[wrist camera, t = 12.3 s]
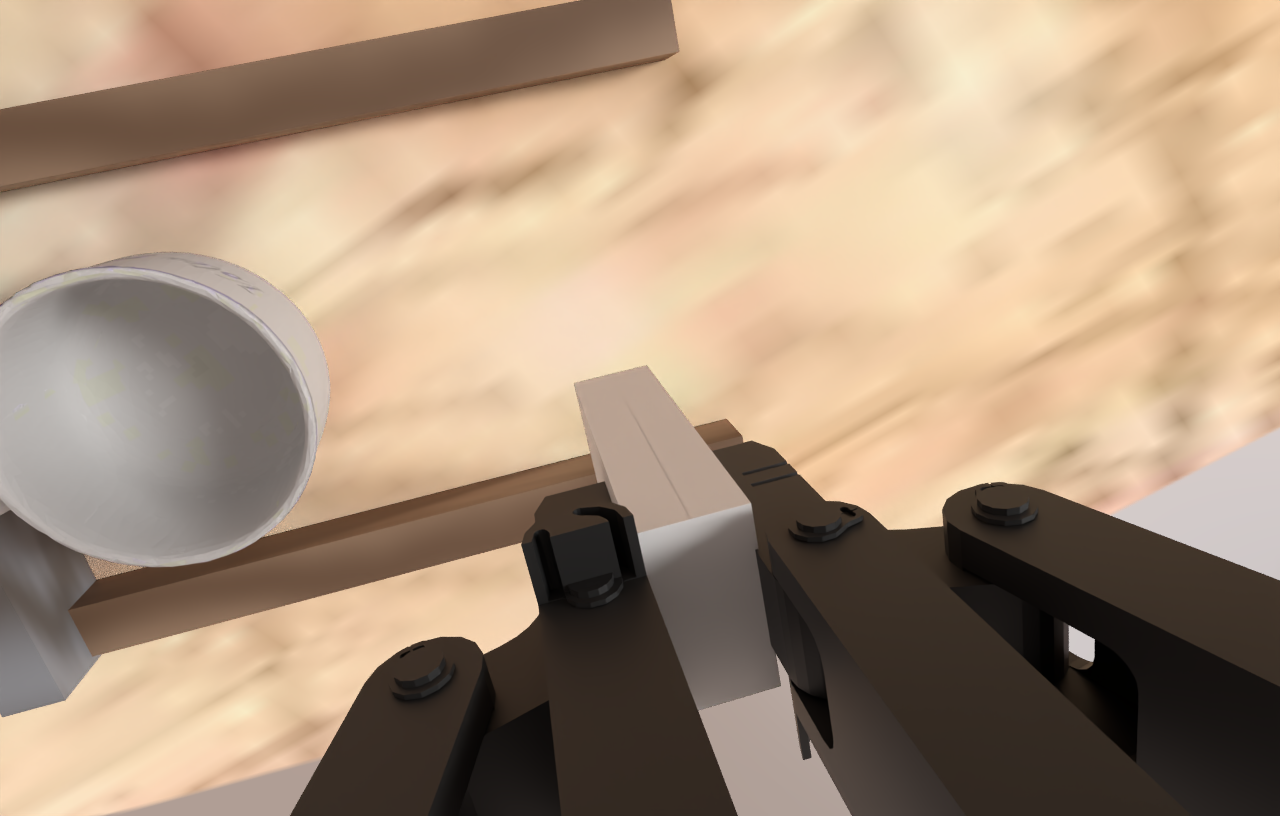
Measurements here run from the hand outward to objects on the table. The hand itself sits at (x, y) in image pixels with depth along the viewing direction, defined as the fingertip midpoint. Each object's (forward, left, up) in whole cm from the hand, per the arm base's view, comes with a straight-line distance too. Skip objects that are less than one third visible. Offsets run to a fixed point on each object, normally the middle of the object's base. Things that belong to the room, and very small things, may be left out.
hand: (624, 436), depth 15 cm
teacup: (0, -16, -21) cm, 26 cm away
